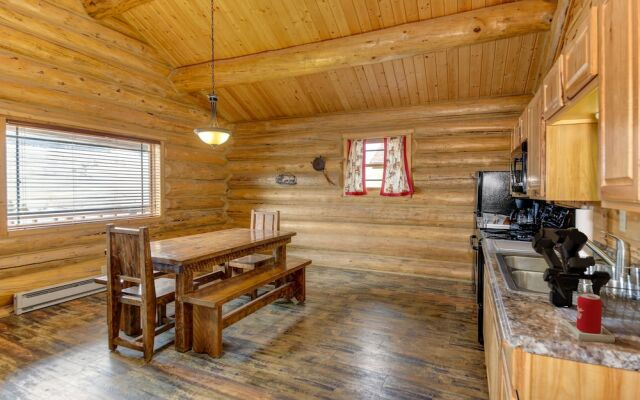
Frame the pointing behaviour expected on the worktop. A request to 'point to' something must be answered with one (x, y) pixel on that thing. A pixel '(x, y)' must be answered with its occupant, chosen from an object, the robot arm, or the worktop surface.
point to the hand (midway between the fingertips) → (581, 299)
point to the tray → (602, 337)
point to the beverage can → (589, 313)
